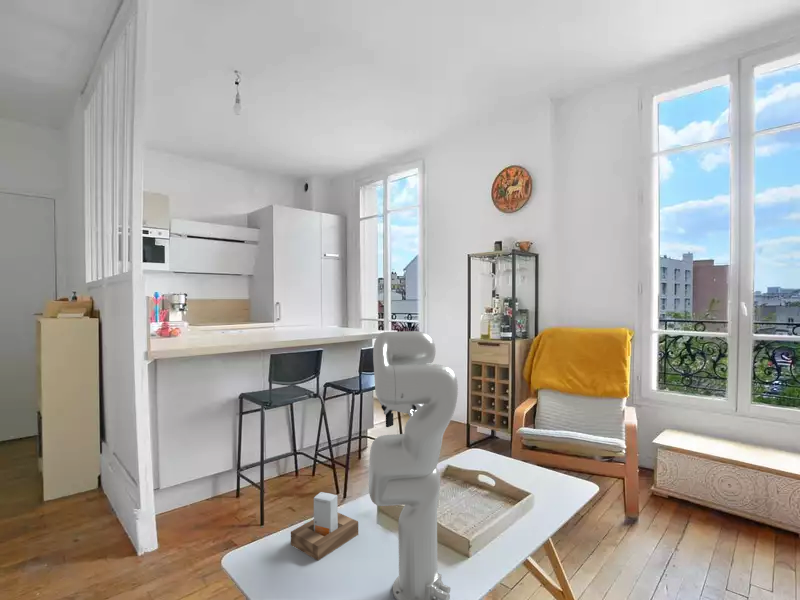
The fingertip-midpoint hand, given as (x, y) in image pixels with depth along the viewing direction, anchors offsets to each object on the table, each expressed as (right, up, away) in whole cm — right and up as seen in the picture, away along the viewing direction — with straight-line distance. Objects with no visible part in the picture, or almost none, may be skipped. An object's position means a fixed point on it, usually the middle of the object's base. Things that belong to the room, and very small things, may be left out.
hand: (401, 428), depth 134 cm
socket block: (-23, -31, -8) cm, 39 cm away
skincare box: (-23, -30, -8) cm, 38 cm away
